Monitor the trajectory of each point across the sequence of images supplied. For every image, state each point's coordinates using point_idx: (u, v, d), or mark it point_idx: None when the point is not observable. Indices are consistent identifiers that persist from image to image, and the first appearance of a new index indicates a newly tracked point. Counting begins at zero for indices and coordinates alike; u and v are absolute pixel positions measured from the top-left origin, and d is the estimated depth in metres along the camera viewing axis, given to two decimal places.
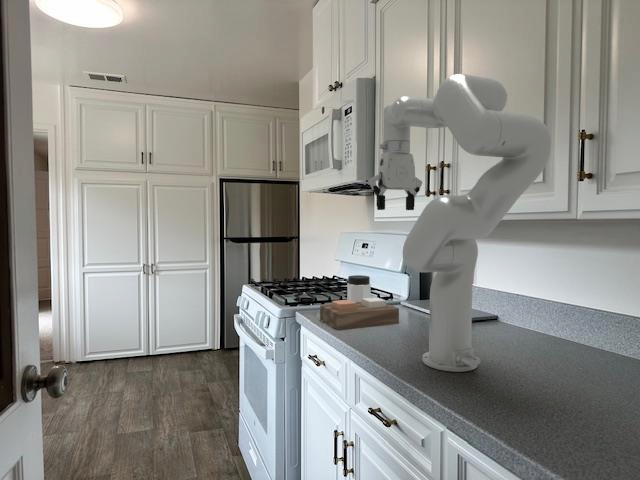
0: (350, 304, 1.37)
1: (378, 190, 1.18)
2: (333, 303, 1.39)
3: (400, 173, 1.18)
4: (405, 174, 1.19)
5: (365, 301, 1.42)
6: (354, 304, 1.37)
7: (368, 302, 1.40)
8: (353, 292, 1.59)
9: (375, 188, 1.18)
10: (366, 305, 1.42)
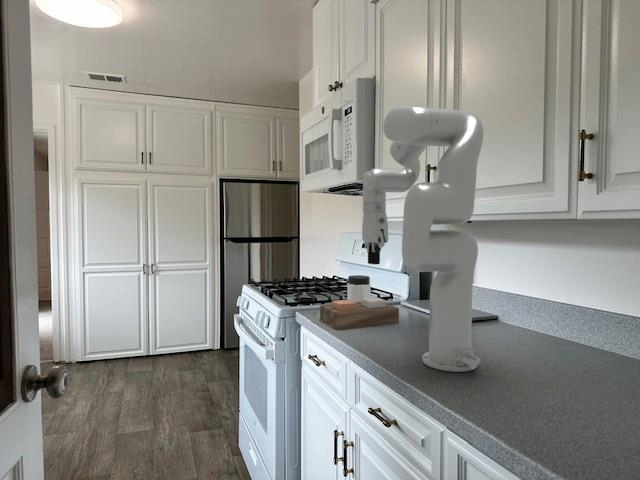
0: (350, 304, 1.37)
1: None
2: (333, 303, 1.39)
3: None
4: None
5: (365, 301, 1.42)
6: (354, 304, 1.37)
7: (368, 302, 1.40)
8: (353, 292, 1.59)
9: None
10: (366, 305, 1.42)
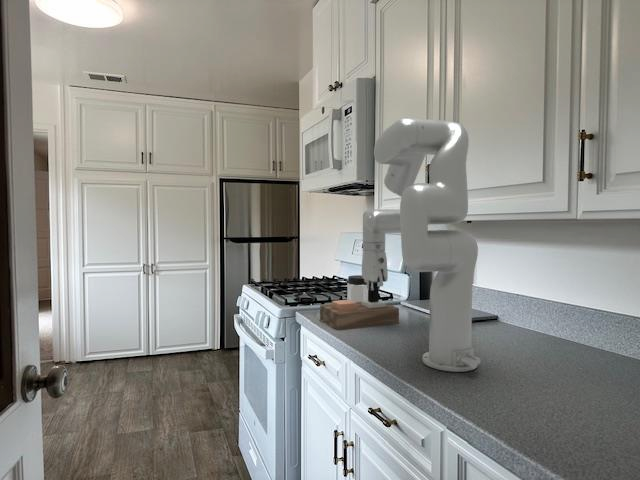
0: (350, 304, 1.37)
1: None
2: (333, 303, 1.39)
3: None
4: None
5: (365, 303, 1.42)
6: (354, 304, 1.37)
7: (368, 304, 1.40)
8: (353, 292, 1.59)
9: None
10: None
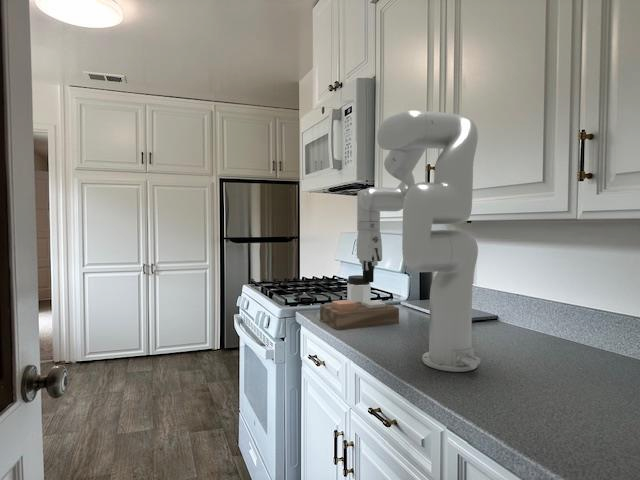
0: (350, 304, 1.37)
1: None
2: (333, 303, 1.39)
3: None
4: None
5: (365, 304, 1.42)
6: (354, 304, 1.37)
7: (368, 305, 1.40)
8: (353, 292, 1.59)
9: None
10: None
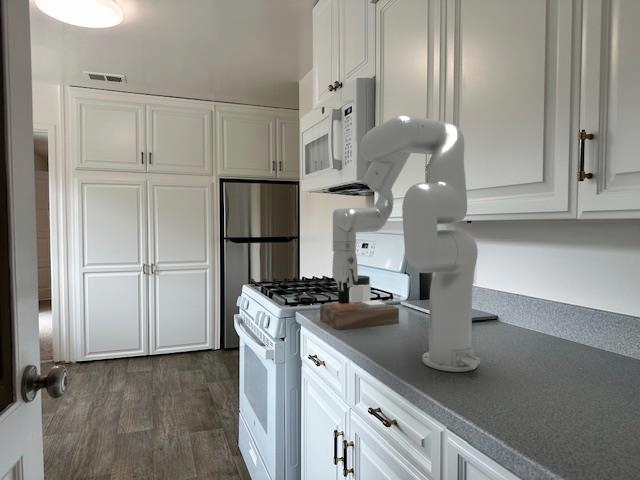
0: (350, 305, 1.37)
1: None
2: (333, 304, 1.40)
3: None
4: None
5: (365, 304, 1.42)
6: (354, 305, 1.37)
7: (368, 305, 1.40)
8: (353, 292, 1.59)
9: None
10: None
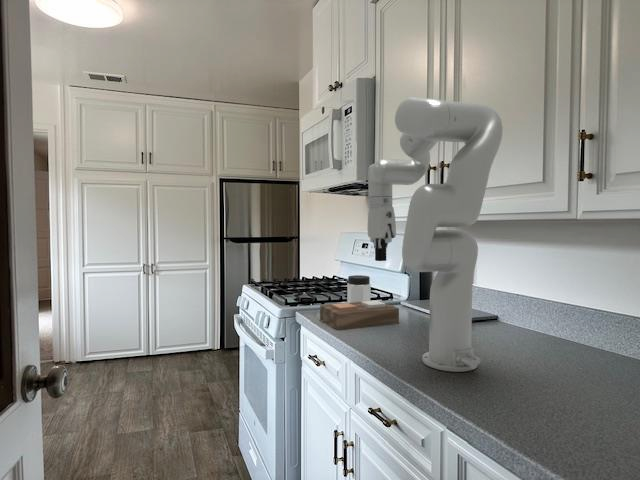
0: (350, 307, 1.37)
1: None
2: (333, 306, 1.40)
3: None
4: None
5: (365, 304, 1.42)
6: (354, 307, 1.37)
7: (368, 305, 1.40)
8: (353, 292, 1.59)
9: None
10: None
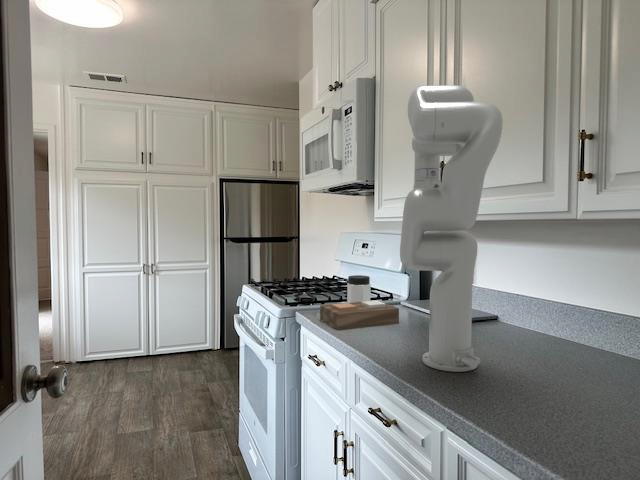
0: (350, 307, 1.37)
1: None
2: (333, 306, 1.40)
3: None
4: None
5: (365, 304, 1.42)
6: (354, 307, 1.37)
7: (368, 305, 1.40)
8: (353, 292, 1.59)
9: None
10: None
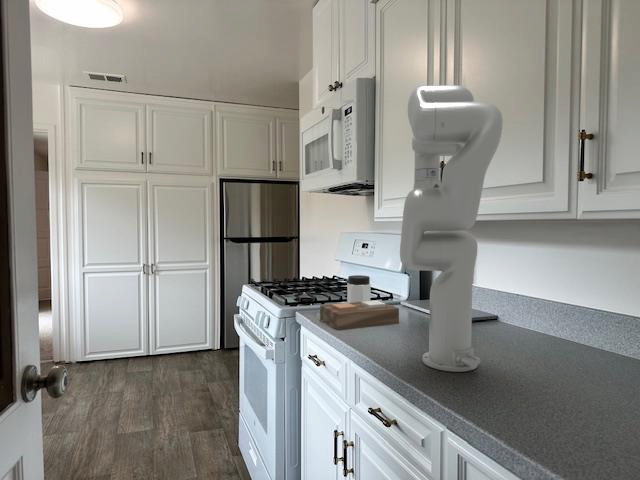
0: (350, 307, 1.37)
1: None
2: (333, 306, 1.40)
3: None
4: None
5: (365, 304, 1.42)
6: (354, 307, 1.37)
7: (368, 305, 1.40)
8: (353, 292, 1.59)
9: None
10: None
